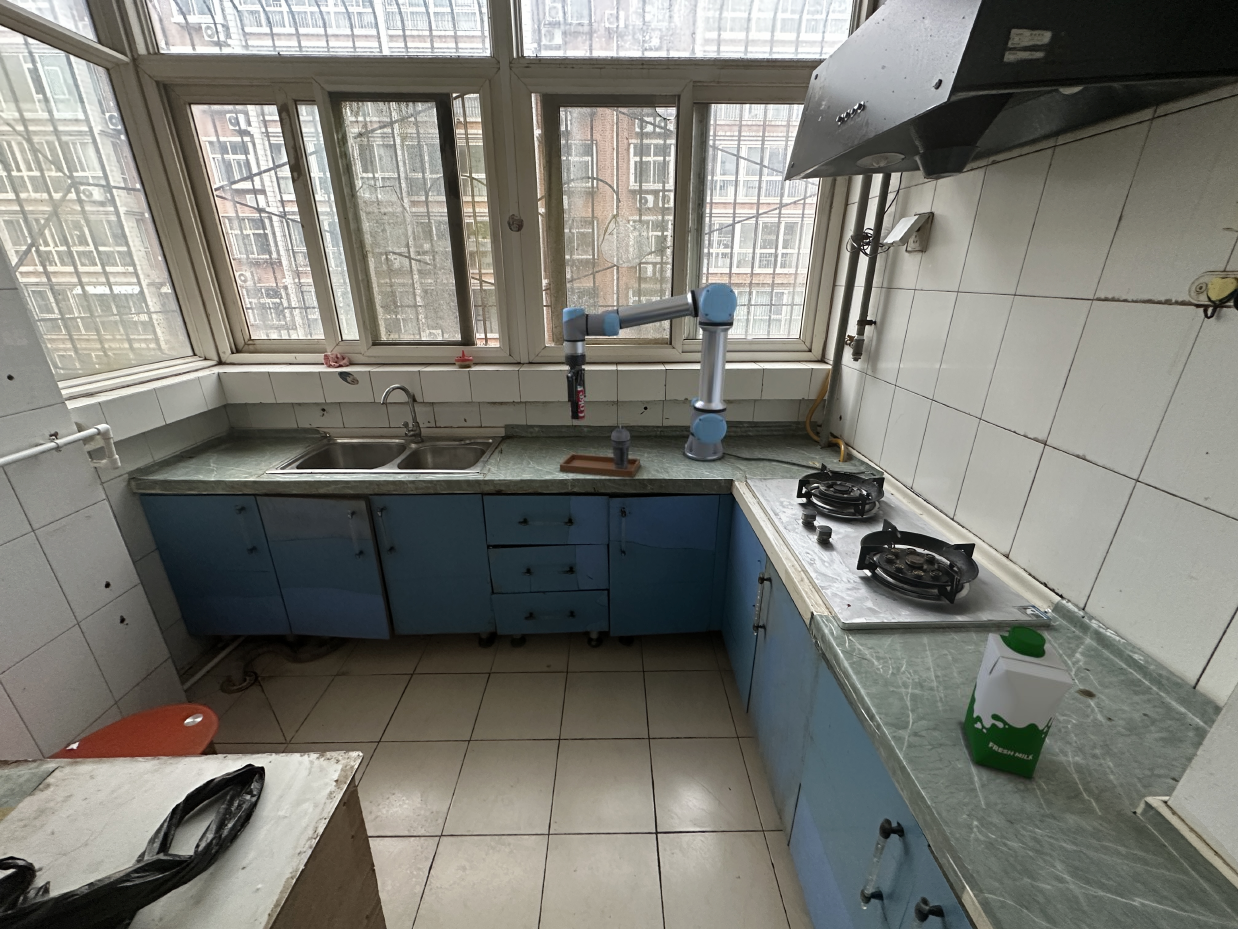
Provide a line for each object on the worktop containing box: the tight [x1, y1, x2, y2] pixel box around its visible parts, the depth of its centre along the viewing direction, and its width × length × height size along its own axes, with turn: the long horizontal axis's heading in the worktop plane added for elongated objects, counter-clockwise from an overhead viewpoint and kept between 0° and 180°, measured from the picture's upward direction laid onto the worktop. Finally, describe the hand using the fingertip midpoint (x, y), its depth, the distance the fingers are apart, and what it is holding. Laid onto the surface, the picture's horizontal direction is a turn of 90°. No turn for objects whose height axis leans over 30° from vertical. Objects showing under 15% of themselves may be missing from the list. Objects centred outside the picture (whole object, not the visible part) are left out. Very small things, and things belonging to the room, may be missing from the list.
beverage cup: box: [610, 416, 631, 470], centre depth 181 cm, size 7×7×20 cm
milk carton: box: [963, 625, 1075, 779], centre depth 72 cm, size 9×9×20 cm
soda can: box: [569, 386, 586, 422], centre depth 182 cm, size 5×5×12 cm
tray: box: [559, 453, 641, 478], centre depth 186 cm, size 28×13×3 cm, turn 75°
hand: (577, 417), depth 184 cm, fingers closed on soda can, 5 cm apart
